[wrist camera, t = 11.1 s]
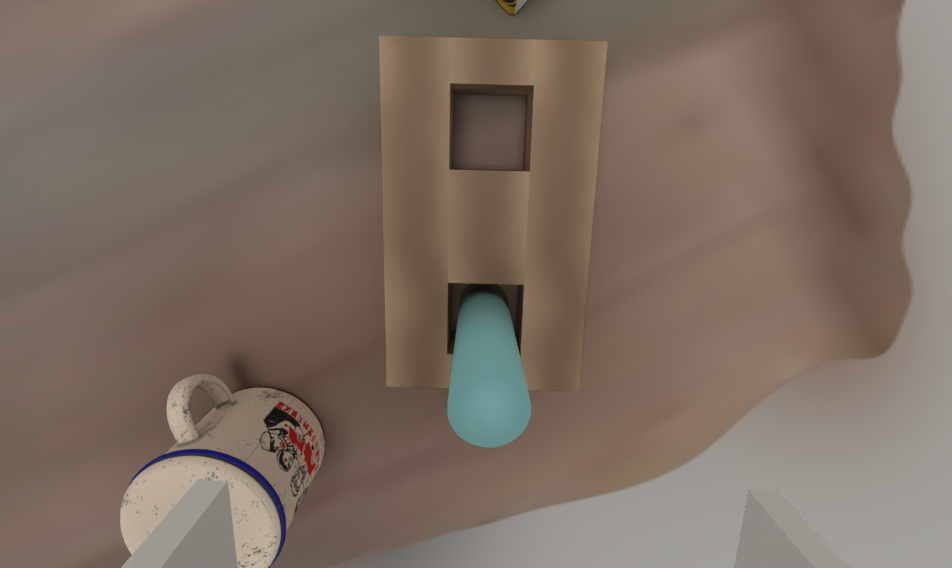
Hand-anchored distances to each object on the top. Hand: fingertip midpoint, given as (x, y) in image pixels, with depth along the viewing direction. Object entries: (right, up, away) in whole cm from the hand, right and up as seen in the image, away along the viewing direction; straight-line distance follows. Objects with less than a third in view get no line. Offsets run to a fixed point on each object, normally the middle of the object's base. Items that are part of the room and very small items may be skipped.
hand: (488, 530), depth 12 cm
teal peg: (0, +5, +21) cm, 21 cm away
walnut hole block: (0, +10, +19) cm, 22 cm away
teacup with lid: (-16, -4, +23) cm, 28 cm away
